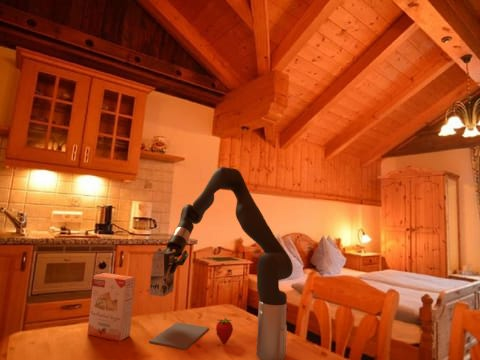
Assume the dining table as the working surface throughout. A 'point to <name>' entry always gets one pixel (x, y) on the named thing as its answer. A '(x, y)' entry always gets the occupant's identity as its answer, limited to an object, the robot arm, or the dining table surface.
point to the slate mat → (180, 335)
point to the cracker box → (111, 306)
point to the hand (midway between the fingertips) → (163, 271)
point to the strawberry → (224, 330)
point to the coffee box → (162, 273)
